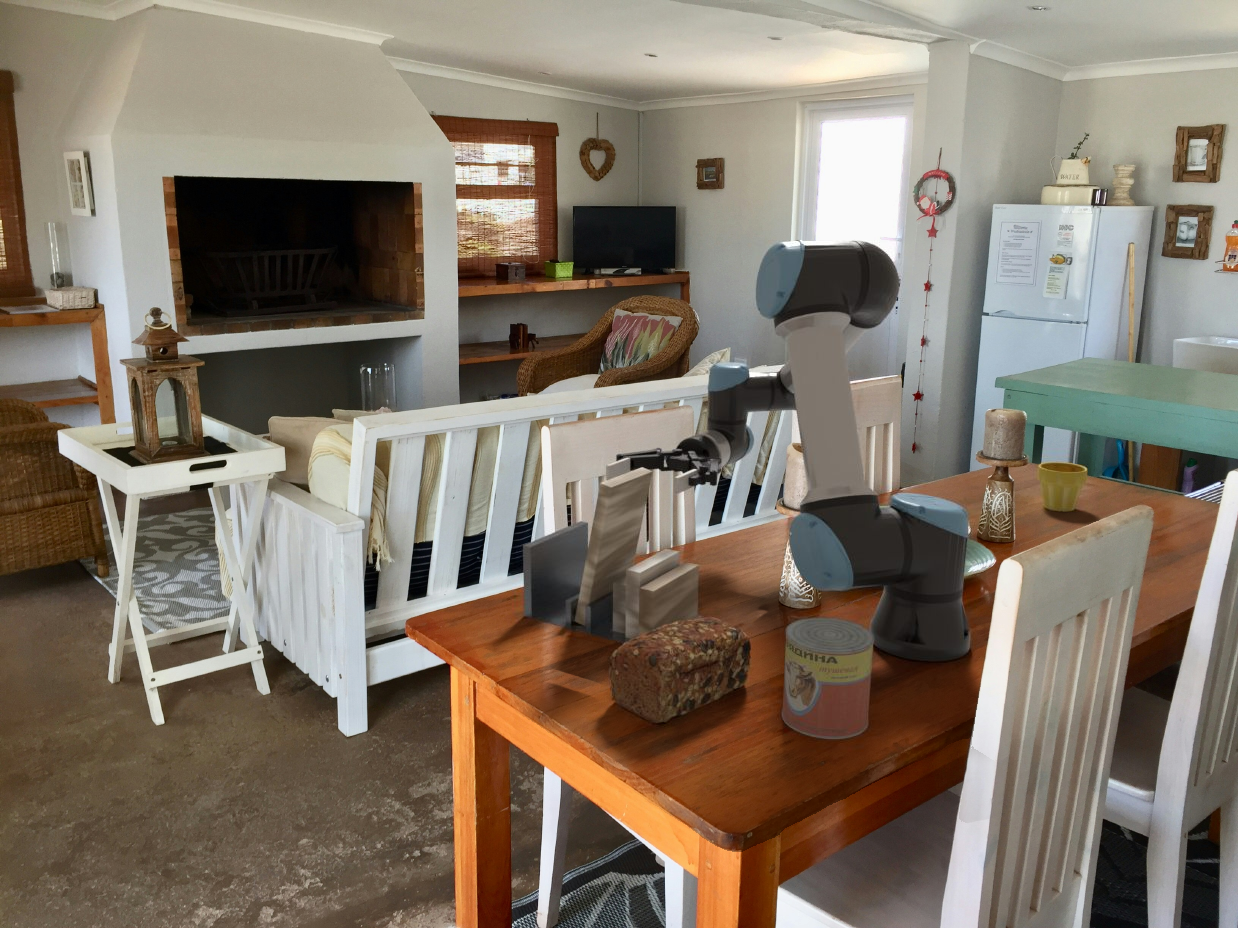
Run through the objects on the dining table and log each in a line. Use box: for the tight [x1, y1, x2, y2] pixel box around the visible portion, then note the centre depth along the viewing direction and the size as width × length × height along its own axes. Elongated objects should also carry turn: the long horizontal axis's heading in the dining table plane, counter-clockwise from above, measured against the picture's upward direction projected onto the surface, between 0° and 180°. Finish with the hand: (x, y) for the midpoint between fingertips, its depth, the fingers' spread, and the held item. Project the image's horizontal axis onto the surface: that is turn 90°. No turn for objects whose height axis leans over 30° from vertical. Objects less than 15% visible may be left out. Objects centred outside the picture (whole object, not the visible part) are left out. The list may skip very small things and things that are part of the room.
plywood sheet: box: [575, 467, 653, 626], centre depth 160 cm, size 2×12×24 cm, turn 147°
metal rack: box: [522, 521, 703, 644], centre depth 162 cm, size 25×16×14 cm, turn 57°
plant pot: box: [1037, 461, 1088, 513], centre depth 230 cm, size 10×10×10 cm
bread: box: [608, 615, 752, 724], centre depth 139 cm, size 19×11×10 cm, turn 133°
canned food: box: [781, 616, 874, 740], centre depth 132 cm, size 11×11×12 cm
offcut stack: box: [613, 548, 700, 639], centre depth 158 cm, size 8×14×11 cm, turn 147°
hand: (641, 479), depth 169 cm, fingers open, 13 cm apart
